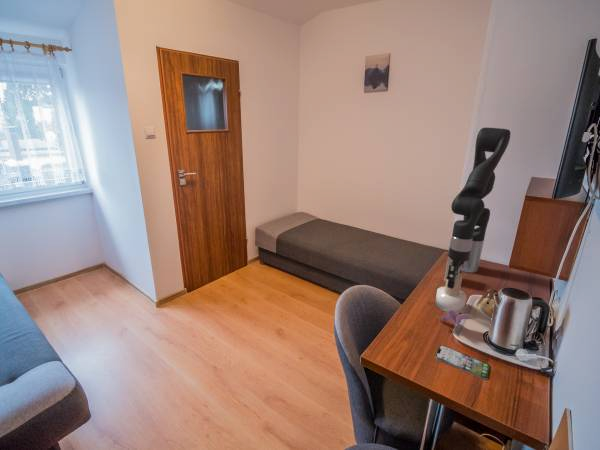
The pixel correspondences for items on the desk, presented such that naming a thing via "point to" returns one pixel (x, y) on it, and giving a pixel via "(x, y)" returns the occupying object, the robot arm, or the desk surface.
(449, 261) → the supplement box
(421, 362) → the desk surface
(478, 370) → the smartphone
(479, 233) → the robot arm
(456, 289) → the candle
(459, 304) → the glossy white dome
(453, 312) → the lily
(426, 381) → the desk surface
